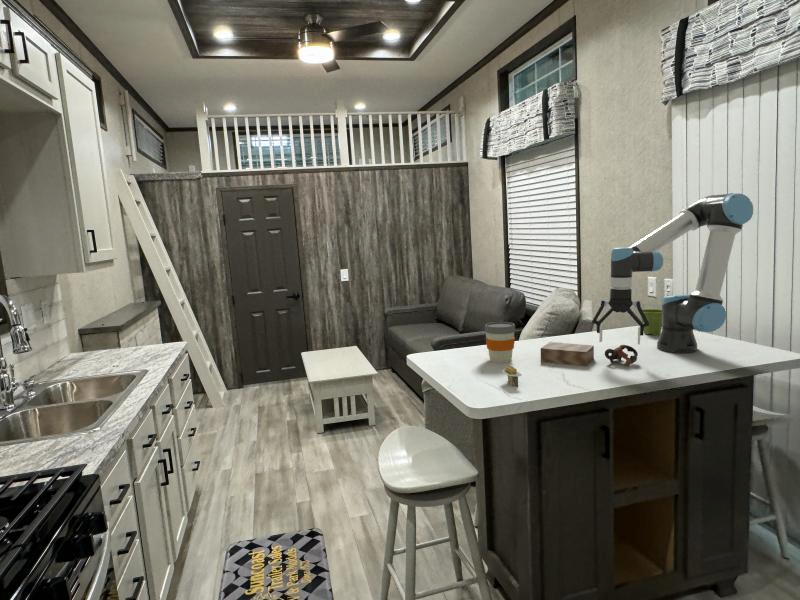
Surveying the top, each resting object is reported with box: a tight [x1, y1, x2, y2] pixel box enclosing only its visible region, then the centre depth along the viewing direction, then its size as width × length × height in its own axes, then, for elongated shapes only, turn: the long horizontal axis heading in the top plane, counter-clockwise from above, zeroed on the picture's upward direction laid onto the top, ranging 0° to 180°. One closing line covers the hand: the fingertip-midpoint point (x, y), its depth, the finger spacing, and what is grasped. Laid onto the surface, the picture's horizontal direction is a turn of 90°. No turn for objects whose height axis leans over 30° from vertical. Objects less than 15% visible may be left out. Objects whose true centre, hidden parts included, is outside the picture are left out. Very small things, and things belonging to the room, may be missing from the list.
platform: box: [501, 364, 522, 387], centre depth 184 cm, size 12×18×7 cm, turn 13°
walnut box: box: [540, 341, 595, 367], centre depth 211 cm, size 18×12×6 cm, turn 57°
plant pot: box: [641, 308, 662, 336], centre depth 251 cm, size 12×12×11 cm
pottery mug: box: [604, 344, 639, 367], centre depth 203 cm, size 12×10×8 cm
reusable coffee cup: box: [484, 321, 516, 363], centre depth 217 cm, size 13×13×15 cm
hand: (619, 342), depth 201 cm, fingers open, 13 cm apart
